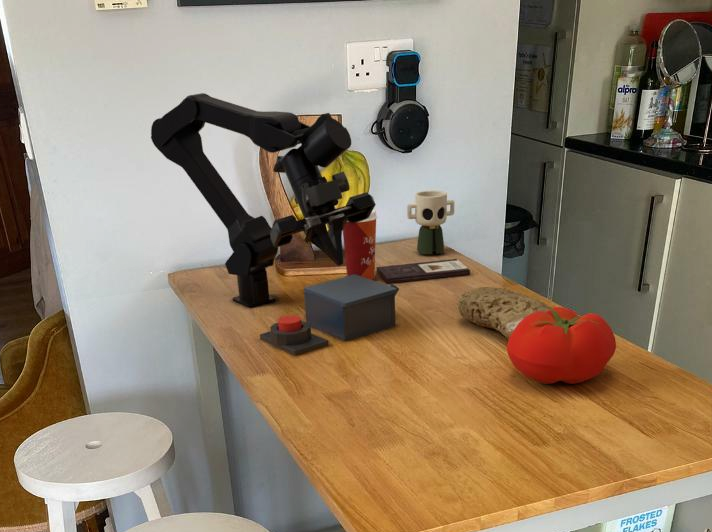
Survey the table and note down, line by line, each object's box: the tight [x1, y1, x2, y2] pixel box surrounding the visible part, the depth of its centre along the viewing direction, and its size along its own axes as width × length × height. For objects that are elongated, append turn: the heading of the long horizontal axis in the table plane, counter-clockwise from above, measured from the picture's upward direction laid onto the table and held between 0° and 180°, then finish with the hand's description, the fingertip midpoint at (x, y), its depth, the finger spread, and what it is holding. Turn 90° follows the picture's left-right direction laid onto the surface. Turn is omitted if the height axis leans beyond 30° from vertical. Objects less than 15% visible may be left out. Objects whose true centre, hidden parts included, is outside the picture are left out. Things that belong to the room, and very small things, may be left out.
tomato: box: [506, 306, 617, 385], centre depth 126 cm, size 14×16×10 cm
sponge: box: [457, 286, 551, 341], centre depth 145 cm, size 13×8×20 cm
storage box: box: [303, 291, 396, 342], centre depth 150 cm, size 12×12×6 cm
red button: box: [277, 315, 302, 332], centre depth 144 cm, size 4×4×2 cm
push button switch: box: [259, 320, 329, 357], centre depth 145 cm, size 11×7×3 cm
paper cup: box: [342, 208, 379, 281], centre depth 172 cm, size 8×8×14 cm
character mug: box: [406, 190, 455, 255], centre depth 188 cm, size 11×7×13 cm, turn 101°
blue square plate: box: [303, 274, 398, 307], centre depth 148 cm, size 12×12×1 cm
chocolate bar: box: [375, 258, 471, 284], centre depth 177 cm, size 9×1×18 cm
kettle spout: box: [389, 283, 400, 296], centre depth 152 cm, size 2×5×5 cm, turn 128°
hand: (340, 264), depth 146 cm, fingers closed
